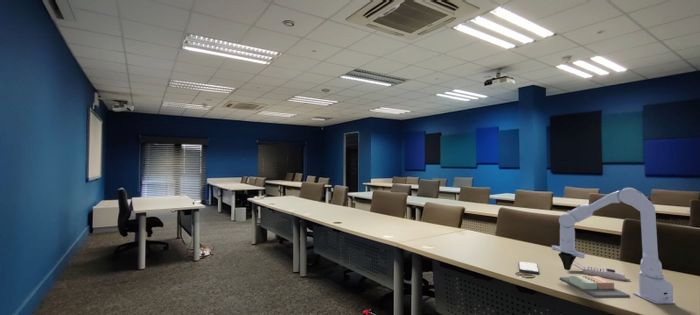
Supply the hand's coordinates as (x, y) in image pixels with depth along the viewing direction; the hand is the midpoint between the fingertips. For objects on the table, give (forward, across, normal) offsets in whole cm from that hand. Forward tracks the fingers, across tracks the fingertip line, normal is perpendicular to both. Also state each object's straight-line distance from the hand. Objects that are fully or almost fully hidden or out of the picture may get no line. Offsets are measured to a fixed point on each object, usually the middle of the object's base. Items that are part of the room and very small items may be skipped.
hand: (567, 269), depth 145 cm
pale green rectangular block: (+5, -9, +2) cm, 10 cm away
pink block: (+5, -10, -4) cm, 12 cm away
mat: (+5, -10, -2) cm, 11 cm away
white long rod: (+5, +2, -21) cm, 21 cm away
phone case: (+5, +18, +4) cm, 19 cm away
